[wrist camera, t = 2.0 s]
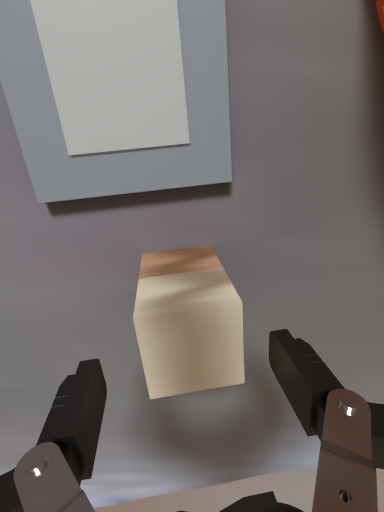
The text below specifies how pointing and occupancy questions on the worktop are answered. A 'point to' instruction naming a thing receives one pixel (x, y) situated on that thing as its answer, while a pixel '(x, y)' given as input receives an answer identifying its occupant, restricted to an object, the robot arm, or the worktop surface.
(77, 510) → the robot arm
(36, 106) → the base plate
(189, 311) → the cream and brown block
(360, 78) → the worktop surface
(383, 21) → the stack of blocks
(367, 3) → the worktop surface
